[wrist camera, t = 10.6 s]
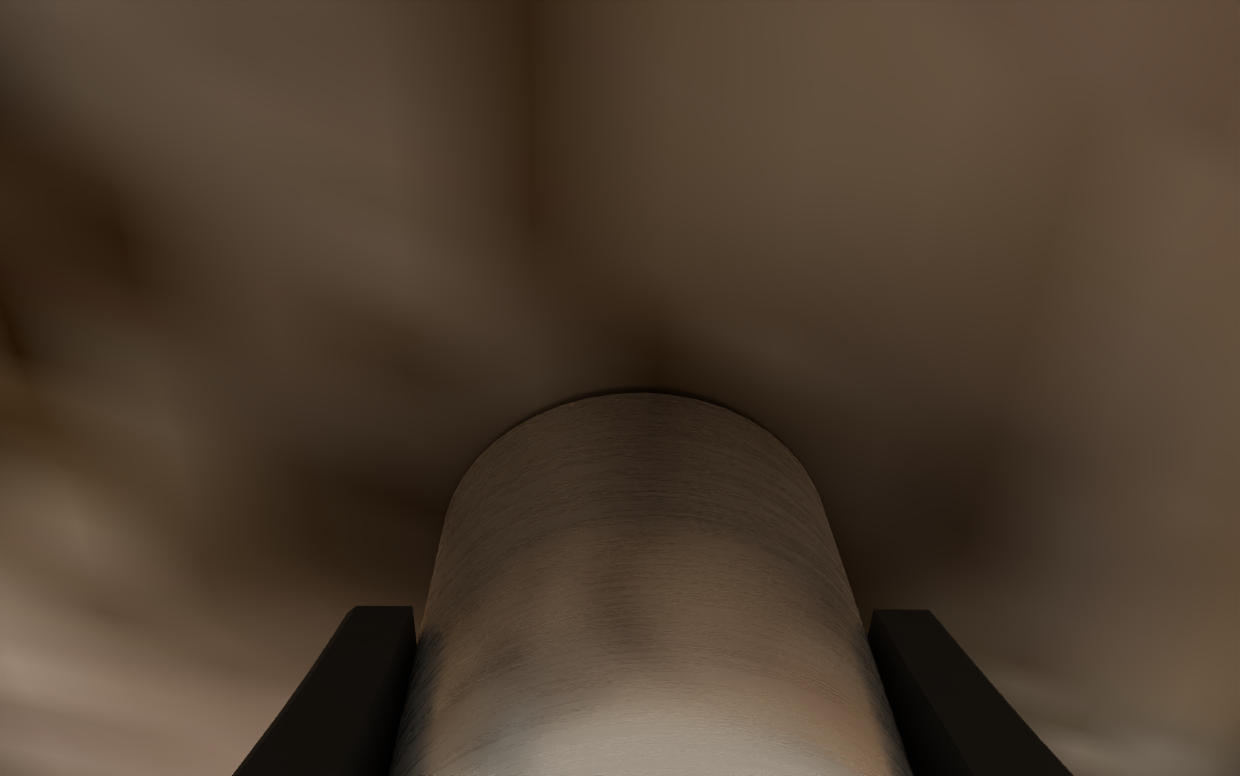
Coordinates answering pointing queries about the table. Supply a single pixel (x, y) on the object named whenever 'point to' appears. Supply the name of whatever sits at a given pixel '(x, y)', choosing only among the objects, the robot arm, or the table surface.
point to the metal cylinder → (642, 609)
